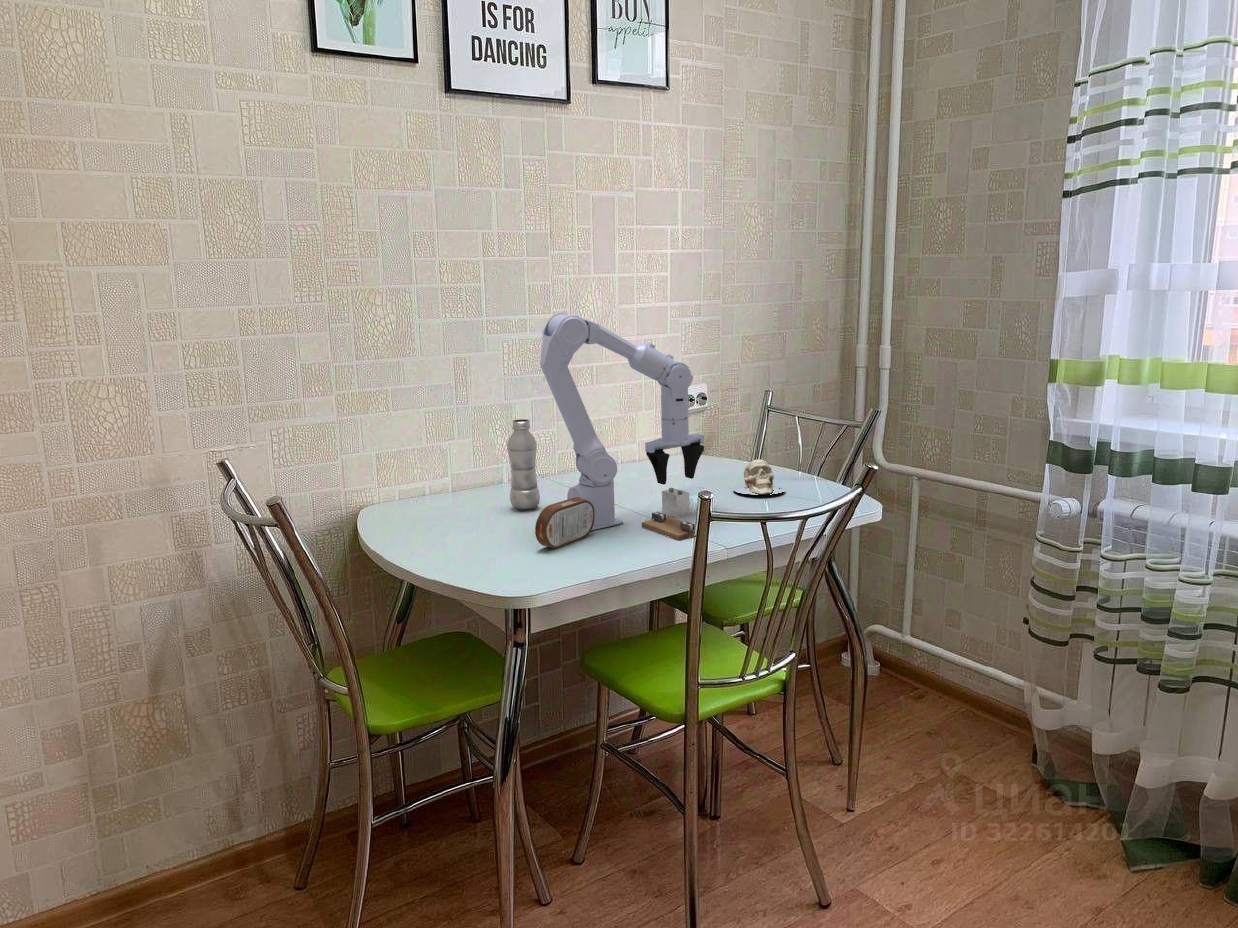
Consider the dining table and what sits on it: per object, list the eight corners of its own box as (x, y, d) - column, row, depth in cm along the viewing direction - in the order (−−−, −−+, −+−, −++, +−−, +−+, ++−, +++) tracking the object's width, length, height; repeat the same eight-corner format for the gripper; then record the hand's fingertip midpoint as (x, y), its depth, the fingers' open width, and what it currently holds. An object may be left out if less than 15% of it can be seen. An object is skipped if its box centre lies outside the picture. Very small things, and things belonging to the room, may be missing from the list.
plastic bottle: (535, 513, 202) (531, 423, 197) (506, 512, 203) (501, 423, 199) (543, 505, 208) (540, 418, 204) (515, 504, 209) (510, 417, 205)
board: (678, 540, 180) (678, 535, 180) (641, 526, 190) (641, 522, 190) (705, 533, 184) (705, 528, 184) (668, 520, 194) (668, 516, 193)
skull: (781, 500, 208) (782, 467, 206) (729, 498, 211) (729, 465, 209) (788, 487, 219) (788, 456, 217) (737, 485, 222) (738, 454, 221)
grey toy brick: (676, 518, 196) (676, 493, 194) (662, 513, 200) (661, 488, 198) (689, 515, 198) (689, 490, 196) (674, 510, 202) (674, 486, 200)
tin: (586, 532, 187) (585, 492, 185) (598, 534, 185) (597, 494, 184) (534, 551, 176) (532, 508, 174) (546, 554, 174) (544, 511, 172)
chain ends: (689, 532, 181) (689, 525, 181) (652, 519, 191) (651, 512, 191) (694, 531, 182) (694, 524, 182) (657, 518, 192) (657, 511, 192)
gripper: (659, 424, 187) (660, 489, 190) (713, 416, 195) (713, 478, 198) (638, 420, 192) (640, 483, 195) (692, 412, 200) (692, 472, 203)
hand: (675, 480), depth 197 cm, fingers open, 7 cm apart
